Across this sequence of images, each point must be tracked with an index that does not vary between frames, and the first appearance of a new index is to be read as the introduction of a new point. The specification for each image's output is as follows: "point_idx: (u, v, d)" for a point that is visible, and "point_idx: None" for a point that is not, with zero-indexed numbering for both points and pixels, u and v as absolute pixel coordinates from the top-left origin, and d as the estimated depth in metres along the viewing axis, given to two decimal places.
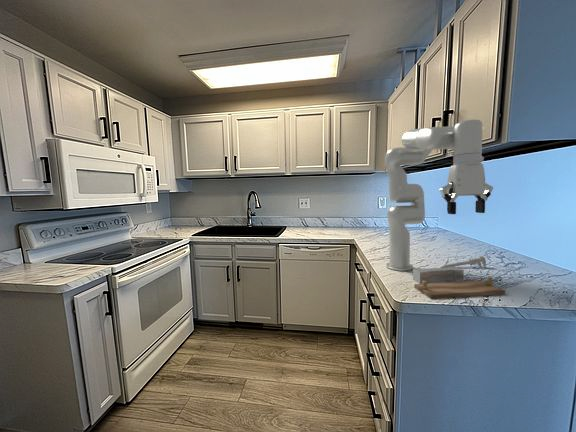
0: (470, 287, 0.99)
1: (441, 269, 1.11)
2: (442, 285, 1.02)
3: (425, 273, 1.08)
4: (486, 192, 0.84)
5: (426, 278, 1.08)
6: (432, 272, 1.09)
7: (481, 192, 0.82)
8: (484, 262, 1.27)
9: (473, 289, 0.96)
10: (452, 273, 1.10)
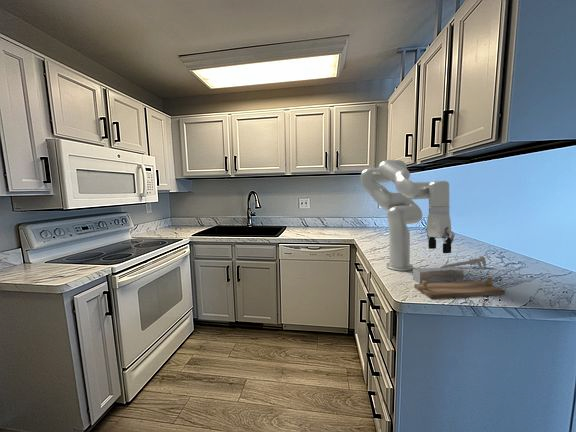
0: (470, 287, 0.99)
1: (441, 269, 1.11)
2: (442, 285, 1.02)
3: (425, 273, 1.08)
4: None
5: (426, 278, 1.08)
6: (432, 272, 1.09)
7: None
8: (484, 262, 1.27)
9: (473, 289, 0.96)
10: (452, 273, 1.10)
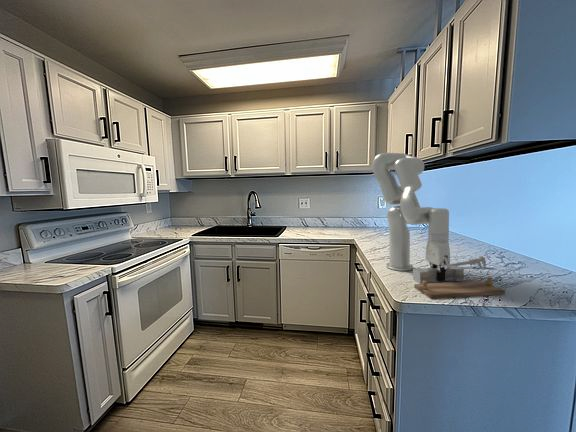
0: (470, 287, 0.99)
1: None
2: (442, 285, 1.02)
3: (425, 273, 1.08)
4: None
5: (426, 278, 1.08)
6: (432, 272, 1.09)
7: None
8: (484, 262, 1.27)
9: (473, 289, 0.96)
10: (452, 272, 1.10)
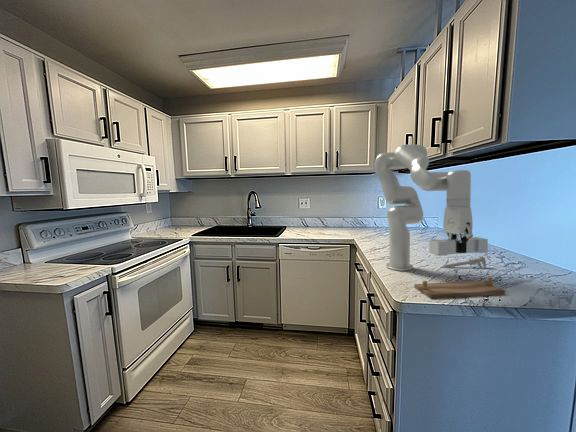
0: (470, 287, 0.99)
1: None
2: (442, 285, 1.02)
3: (444, 243, 0.95)
4: (451, 233, 1.02)
5: (445, 249, 0.95)
6: (452, 243, 0.96)
7: None
8: (484, 262, 1.27)
9: (473, 289, 0.96)
10: (474, 243, 0.97)
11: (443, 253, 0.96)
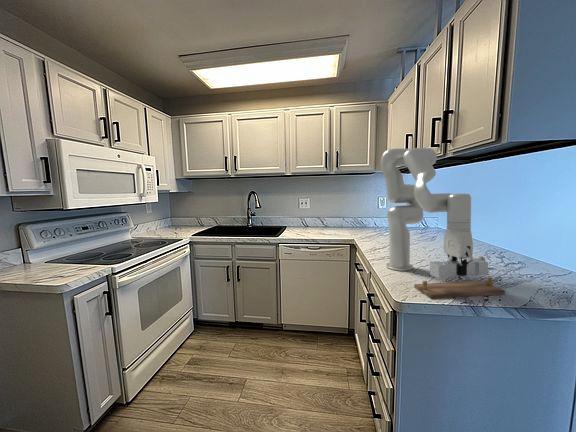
0: (470, 287, 0.99)
1: None
2: (442, 285, 1.02)
3: (445, 266, 0.96)
4: None
5: (446, 272, 0.96)
6: (452, 265, 0.97)
7: None
8: None
9: (473, 289, 0.96)
10: (475, 266, 0.97)
11: (443, 276, 0.96)
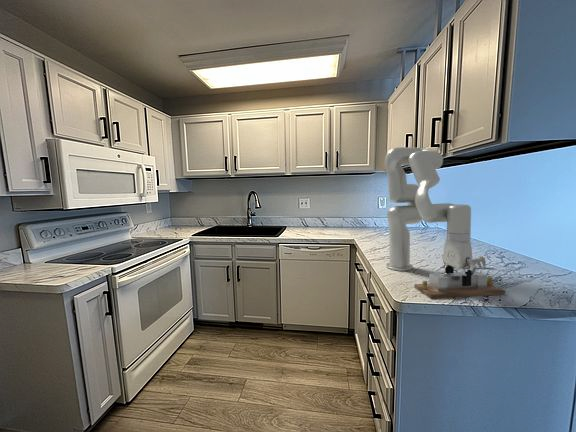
0: None
1: (461, 274, 0.99)
2: None
3: (444, 279, 0.96)
4: None
5: (445, 284, 0.96)
6: (452, 278, 0.97)
7: None
8: (484, 262, 1.27)
9: (473, 289, 0.96)
10: (474, 279, 0.98)
11: (443, 288, 0.97)
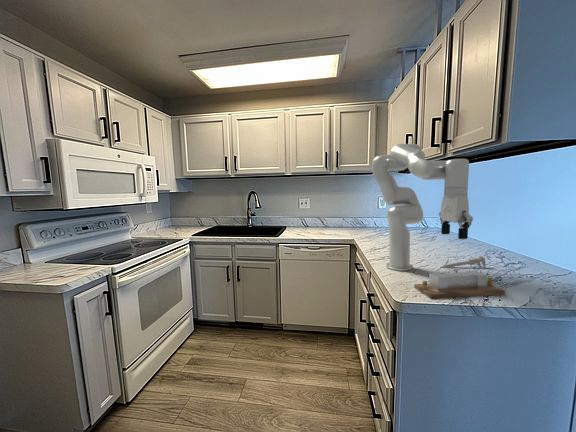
0: None
1: (461, 274, 0.99)
2: None
3: (444, 279, 0.96)
4: None
5: (445, 284, 0.96)
6: (452, 278, 0.97)
7: None
8: (484, 262, 1.27)
9: (473, 289, 0.96)
10: (474, 279, 0.98)
11: (443, 288, 0.97)
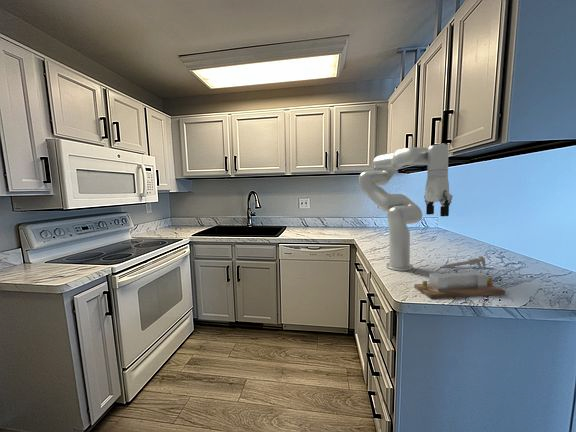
0: None
1: (461, 274, 0.99)
2: None
3: (444, 279, 0.96)
4: None
5: (445, 284, 0.96)
6: (452, 278, 0.97)
7: None
8: (483, 262, 1.27)
9: (473, 289, 0.96)
10: (474, 279, 0.98)
11: (443, 288, 0.97)
